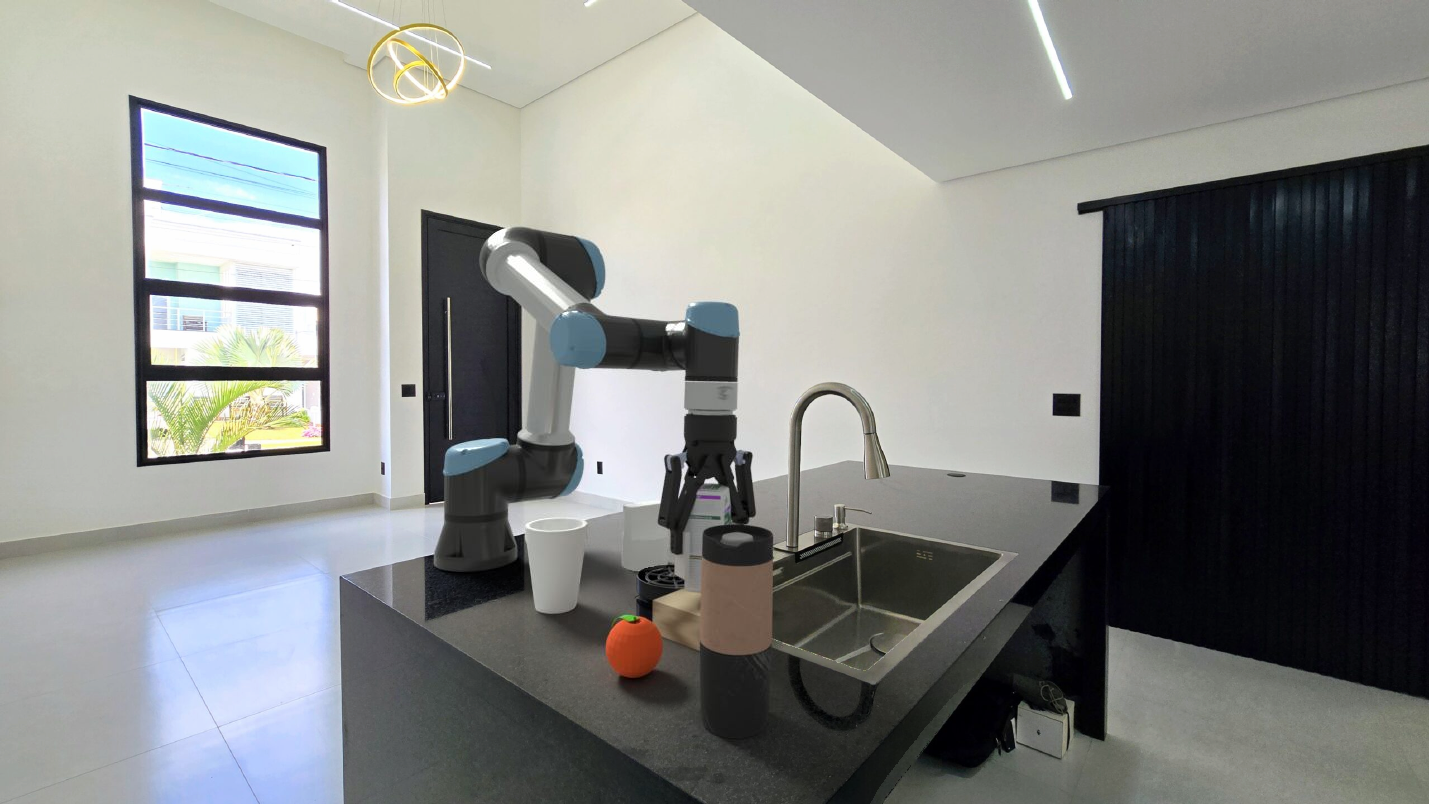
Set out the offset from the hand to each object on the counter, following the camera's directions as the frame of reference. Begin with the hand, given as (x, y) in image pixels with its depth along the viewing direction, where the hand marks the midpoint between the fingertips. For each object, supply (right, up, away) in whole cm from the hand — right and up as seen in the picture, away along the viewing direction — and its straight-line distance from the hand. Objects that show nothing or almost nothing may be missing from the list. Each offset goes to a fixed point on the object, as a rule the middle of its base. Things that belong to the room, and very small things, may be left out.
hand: (707, 571), depth 87 cm
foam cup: (-24, -8, +9) cm, 27 cm away
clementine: (-9, -9, -13) cm, 18 cm away
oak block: (0, -9, 0) cm, 9 cm away
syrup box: (0, -2, 0) cm, 2 cm away
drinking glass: (-13, -8, +31) cm, 34 cm away
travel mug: (+3, -10, -22) cm, 25 cm away
